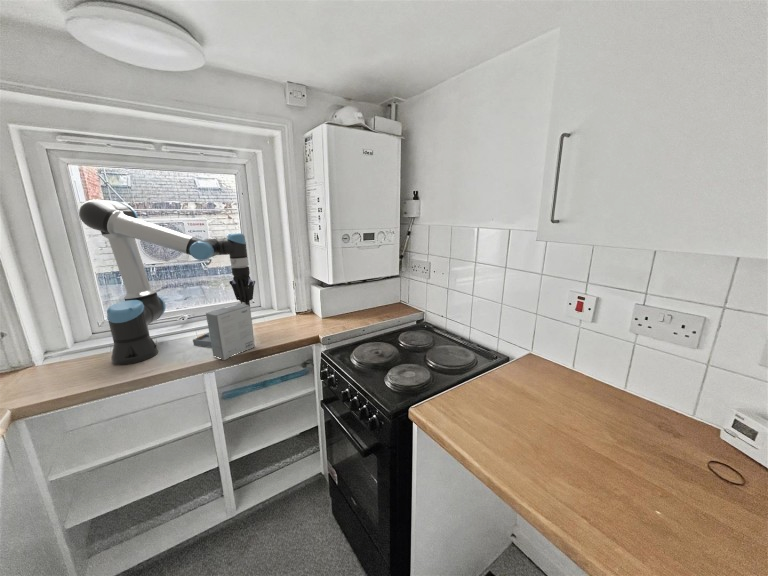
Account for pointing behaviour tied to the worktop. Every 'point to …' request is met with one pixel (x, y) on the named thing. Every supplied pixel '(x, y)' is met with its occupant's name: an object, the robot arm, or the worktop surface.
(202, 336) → the dark grey tray
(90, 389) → the worktop surface
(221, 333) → the hard drive box
